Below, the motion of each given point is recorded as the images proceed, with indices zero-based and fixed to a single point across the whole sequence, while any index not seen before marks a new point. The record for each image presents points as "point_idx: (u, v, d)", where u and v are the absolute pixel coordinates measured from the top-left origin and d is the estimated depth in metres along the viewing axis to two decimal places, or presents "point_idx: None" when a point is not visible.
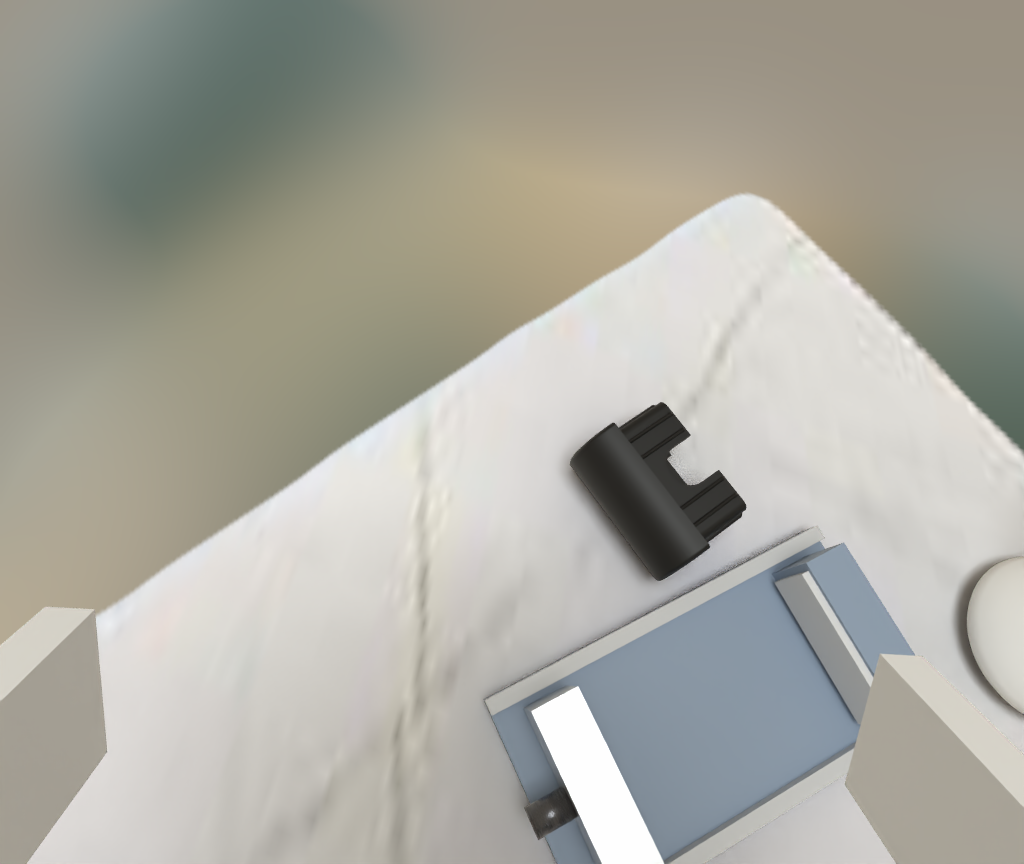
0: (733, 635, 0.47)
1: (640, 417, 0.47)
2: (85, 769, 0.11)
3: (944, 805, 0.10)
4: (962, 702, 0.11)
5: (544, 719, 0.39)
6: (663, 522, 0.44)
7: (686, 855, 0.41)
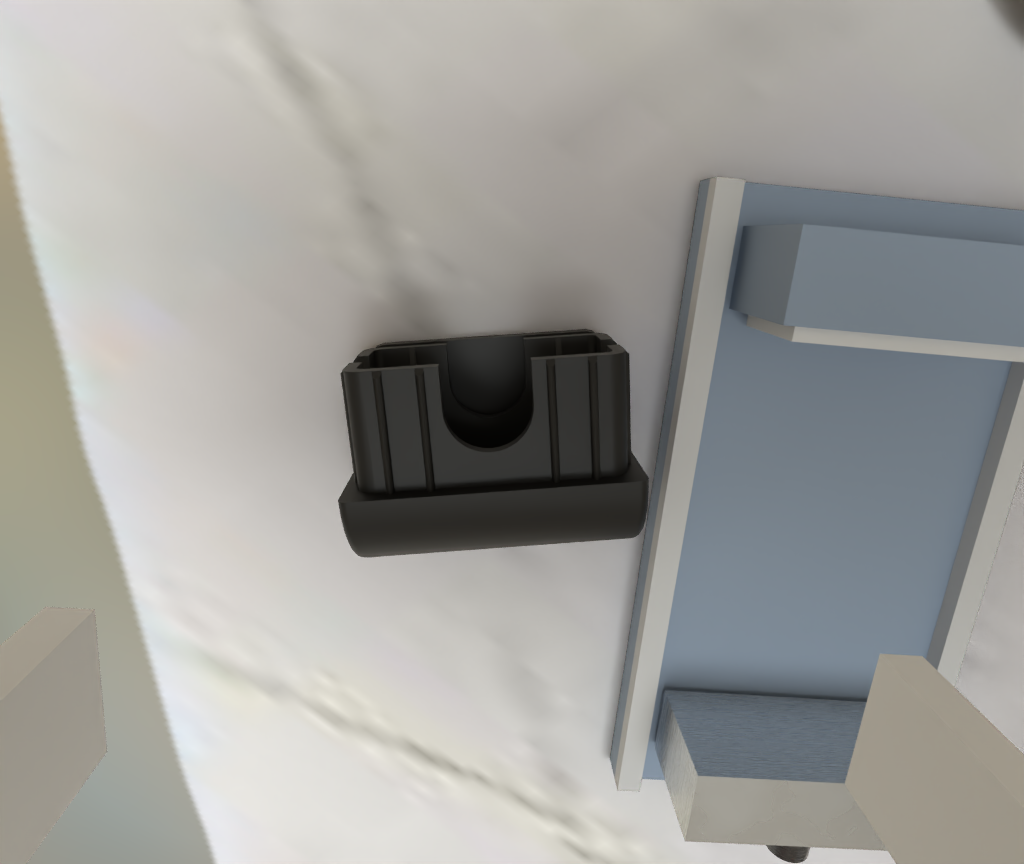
0: (764, 433, 0.27)
1: (353, 431, 0.22)
2: (85, 769, 0.11)
3: (945, 806, 0.10)
4: (962, 702, 0.11)
5: (705, 832, 0.26)
6: (558, 523, 0.23)
7: (940, 672, 0.30)
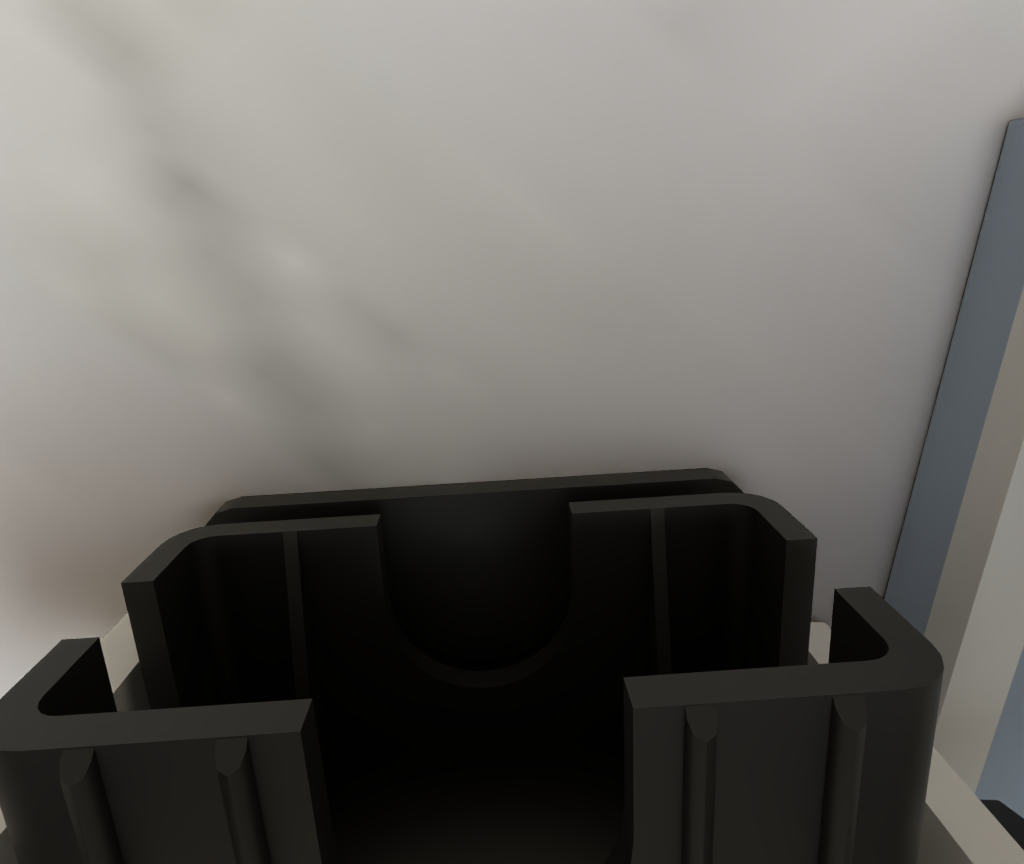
0: None
1: None
2: None
3: None
4: None
5: None
6: None
7: None
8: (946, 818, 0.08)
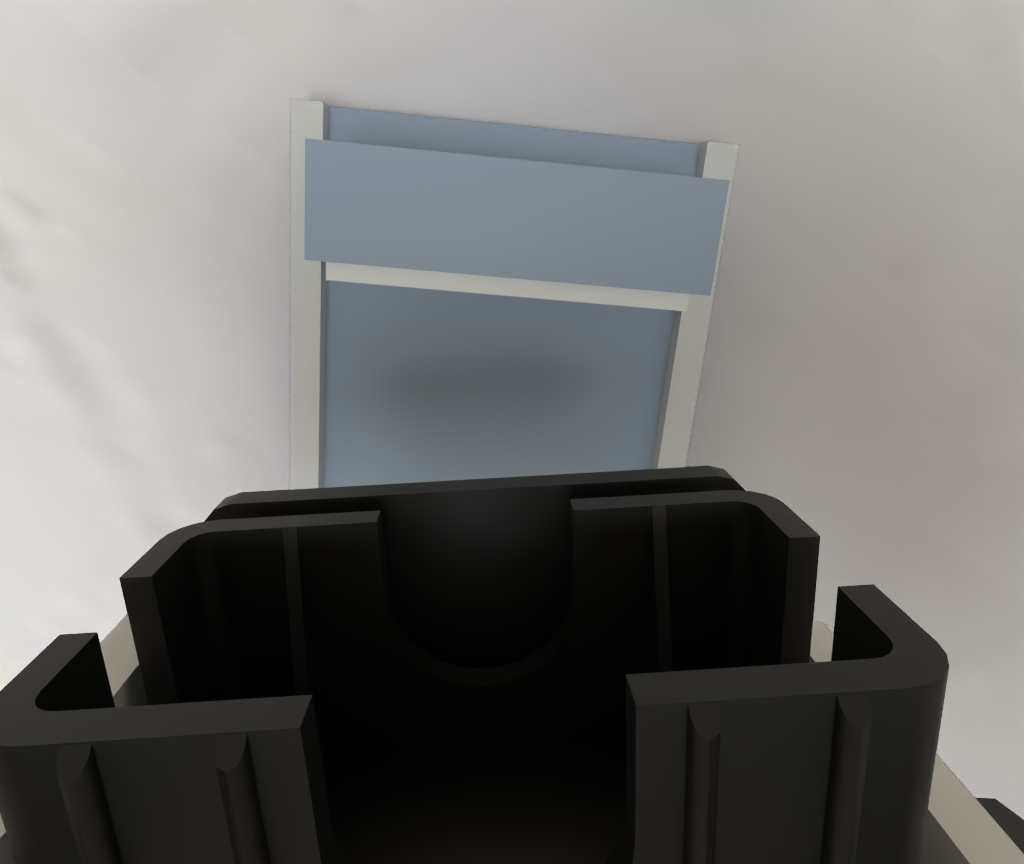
0: (403, 396, 0.25)
1: None
2: None
3: None
4: None
5: None
6: None
7: None
8: (941, 816, 0.08)
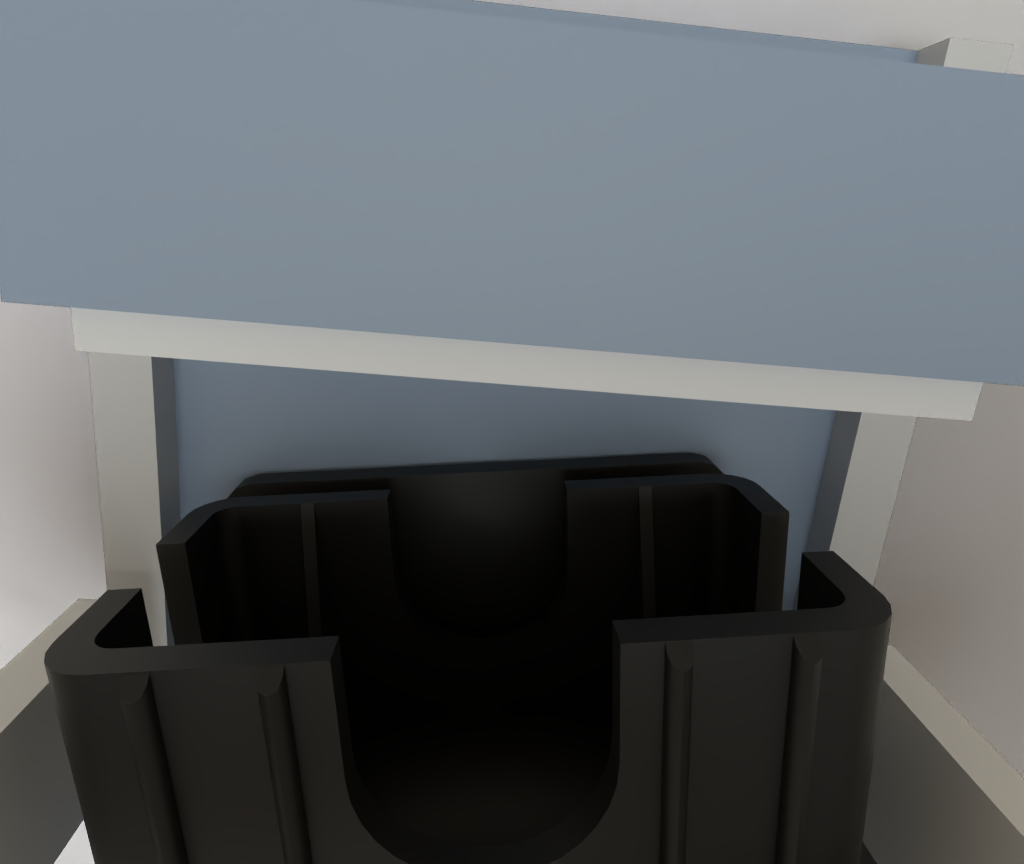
0: None
1: (86, 819, 0.08)
2: None
3: (909, 789, 0.10)
4: (928, 689, 0.11)
5: None
6: None
7: None
8: None
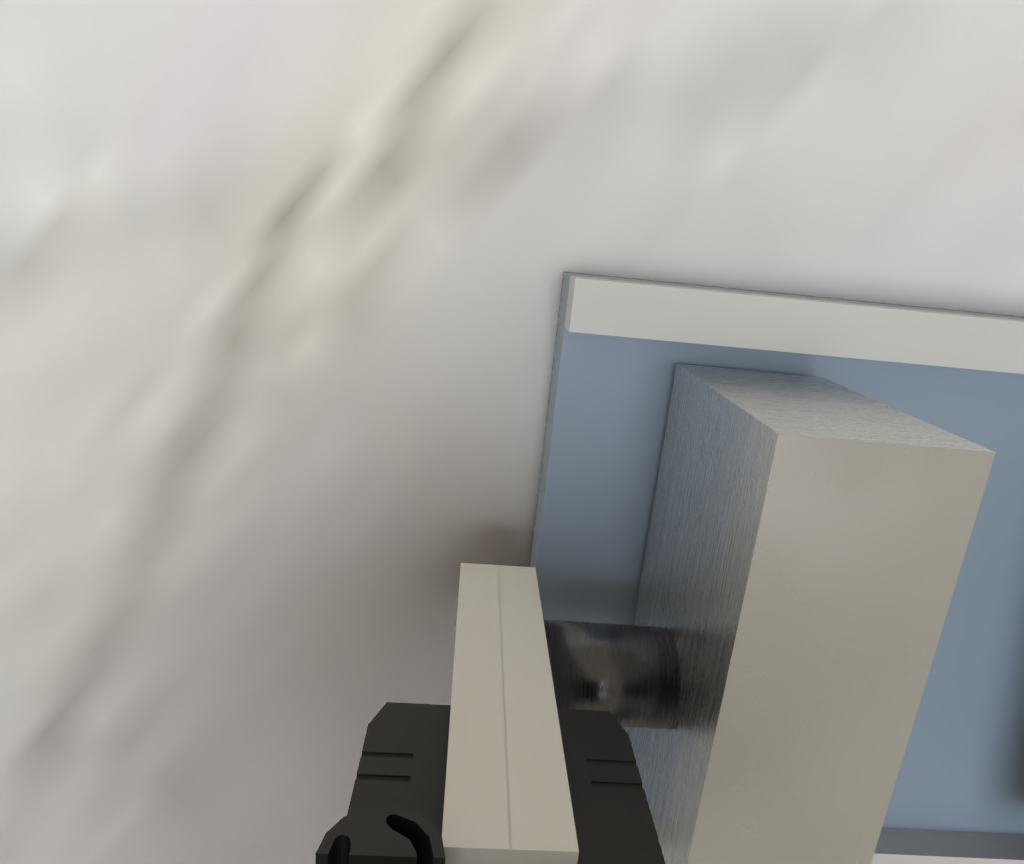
0: None
1: None
2: None
3: None
4: (533, 598, 0.12)
5: (801, 486, 0.09)
6: None
7: None
8: (511, 715, 0.09)
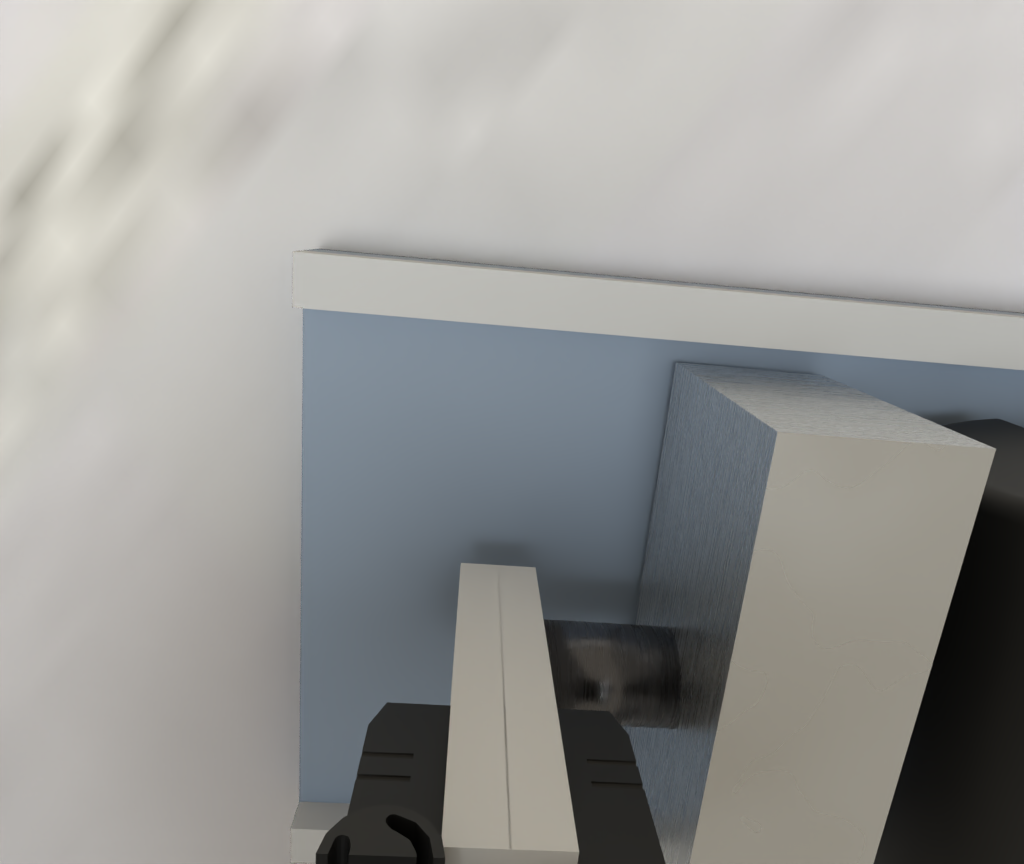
0: None
1: None
2: None
3: None
4: (533, 598, 0.12)
5: (800, 484, 0.09)
6: None
7: None
8: (511, 715, 0.09)
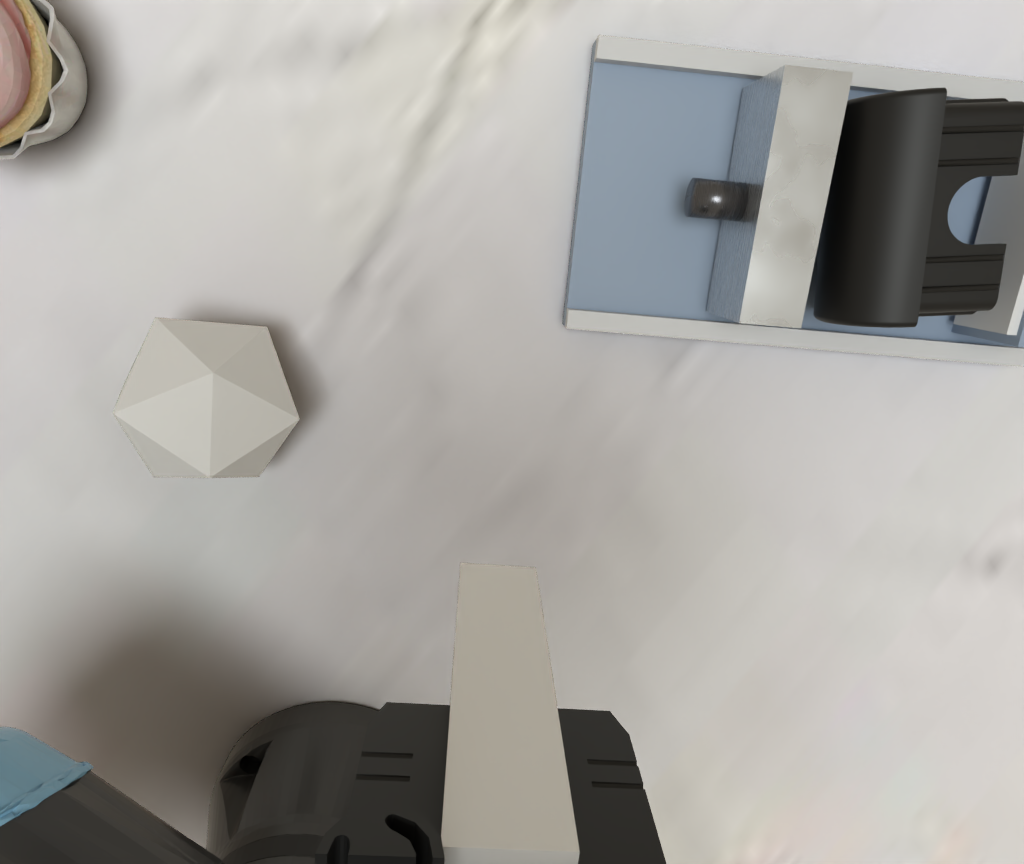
0: None
1: (980, 105, 0.30)
2: None
3: None
4: (534, 598, 0.12)
5: (792, 83, 0.30)
6: (890, 262, 0.31)
7: (699, 323, 0.37)
8: (512, 715, 0.09)
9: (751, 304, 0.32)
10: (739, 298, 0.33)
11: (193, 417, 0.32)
